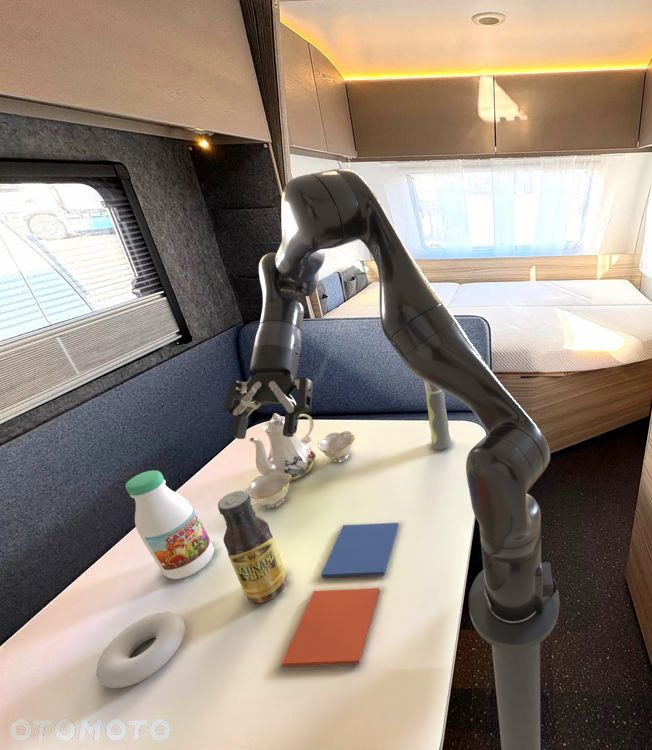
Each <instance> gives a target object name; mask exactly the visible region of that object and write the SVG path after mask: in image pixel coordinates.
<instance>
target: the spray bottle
mask: <svg viewBox="0 0 652 750" xmlns="http://www.w3.org/2000/svg"><path fill="white" fill-rule="evenodd" d="M423 384H424V390H425V400H426V406H427V413H428V422H429V423H428V424H429V429H430V434H431V437H430V438H431V445H432V447H433V449H435V450H436V451H437V450H438V451H442V450H446V449H448V448H449V447H450V446H451V444H452V440H451V436H450V429H449V428H450V427H449V420H448V415H447V409H446V399H445V391H443V390H441V389H439V388H437V387H435V386H433V385H431V384H429V383H427V382H426V381H424V383H423Z"/></svg>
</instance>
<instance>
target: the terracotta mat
mask: <svg viewBox="0 0 652 750" xmlns="http://www.w3.org/2000/svg"><path fill="white" fill-rule="evenodd" d="M380 593H381V590H380V588H379V587H375V588H373V587H372V588H350V589H349V588H348V589H330V590H329V589H328V590H327V589H326V590H313V592H312V594H311V596H310V599H309V601H308V603H307V604H306V608H305V609H304V611H303V614H302V617H301V619H300V621H299V623H298V625H297V628H296V630H295V632H294V634H293V636H292V639H291V641H290V643H289V645H288V647H287V650H286V652H285V655H284V657H283V659H282V661H281V666H282V667H285V668H287V667H307V666H308V667H309V666H332V665H356V664H357V665H358V664H360V662H361V659H362V656H363V652H364V648H365V645H366V641H367V637H368V634H369V631H370V630H369V629H370V628H371V624H372V621H373V616H374V613H375V610H376V606H377V602H378V599H379V595H380Z"/></svg>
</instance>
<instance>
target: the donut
mask: <svg viewBox="0 0 652 750" xmlns="http://www.w3.org/2000/svg"><path fill="white" fill-rule="evenodd" d="M185 627H186V625H185V620H184V619H183V618H182V617H181V616H180V615H179V614H177V613H174V612H170V611H162V612H156V613H152V614H150V615H146V616H145V617H143V618H141V619H140V618H139V620H137V621H135V622H133V623H132V624H130V625H129V626H127V627H126V628H124V629H123V630H122V631H121V632H120V633H118V634H117V635H116V636H115V637H114V638H113V639H112V640H111V642H109V643H108V645H107V646H106V647H105V649H104V650H103V651H102V653H101V655H100V656H99V659H98V661H97V664H96V670H95V671H96V672H95V675H96V677H97V680H98V682H99V684H100V685H101V686H104V687H107V688H108V689H121V688H122V689H123V688H127V687H130V686H133V685H135V684H139V683H140V682H142V681H144V680H145V679H147V678H149V677H150V676H152V675H154V674H155V673H156V672H158V671H159V670H160V669H161V668H162V667H163V666H165V664H167V663H168V661H169V660H170V659H171V658H172V657H173V656H174V655H175V653H177V650H178V649H179V647H180V646H181V644H182V643H183V639H184V636H185V633H186V629H185ZM151 639H154V641H153V643H152V644H151V645H150V646H149V647H148V648H147V649H146V650H144V651H143V652H142V653H140V654H138V655H136V656H133V657H131V656H132V654H133V653H134V651H135V650H136V649H138V648H139V647H140V646H141V645H142V644H144V643H145V642H147V641H149V640H151Z"/></svg>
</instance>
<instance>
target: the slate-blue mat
mask: <svg viewBox="0 0 652 750" xmlns="http://www.w3.org/2000/svg"><path fill="white" fill-rule="evenodd" d="M398 528H399V523H398V522H387V523H364V524H344V525H342V526H341V530H340V531H339V534H338V536H337V538H336V541H335V543H334V545H333V547H332V549H331V551H330V554H329V556H328V559H327V561H326V563H325V565H324V567H323V570H322V571H321V574H320V575H321V578H340V577H341V578H343V577H344V578H345V577H346V578H347V577H367V576H368V577H369V576H370V577H371V576H385V574H386V570H387V568H388V563H389V560H390V557H391V553H392V549H393V546H394V543H395V539H396V536H397V532H398Z"/></svg>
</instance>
